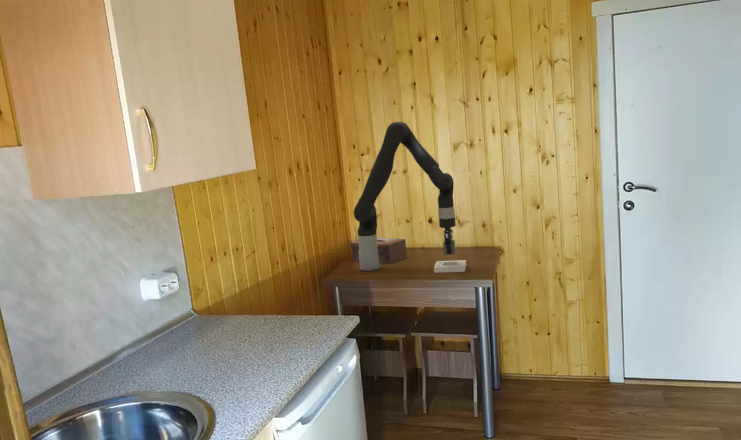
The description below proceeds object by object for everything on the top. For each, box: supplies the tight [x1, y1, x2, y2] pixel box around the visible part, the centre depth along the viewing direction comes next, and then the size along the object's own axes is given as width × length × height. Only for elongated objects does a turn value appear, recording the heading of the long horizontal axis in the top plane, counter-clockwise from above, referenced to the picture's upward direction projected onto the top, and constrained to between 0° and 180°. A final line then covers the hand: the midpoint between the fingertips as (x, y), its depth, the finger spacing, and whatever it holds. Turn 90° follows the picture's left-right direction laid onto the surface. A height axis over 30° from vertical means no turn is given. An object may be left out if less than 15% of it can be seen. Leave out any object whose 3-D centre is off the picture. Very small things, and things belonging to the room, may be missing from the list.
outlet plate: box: [433, 259, 467, 274], centre depth 273 cm, size 14×12×3 cm
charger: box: [442, 239, 457, 256], centre depth 271 cm, size 5×4×6 cm
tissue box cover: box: [349, 237, 408, 265], centre depth 307 cm, size 26×14×10 cm, turn 52°
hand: (449, 252), depth 272 cm, fingers closed on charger, 4 cm apart
